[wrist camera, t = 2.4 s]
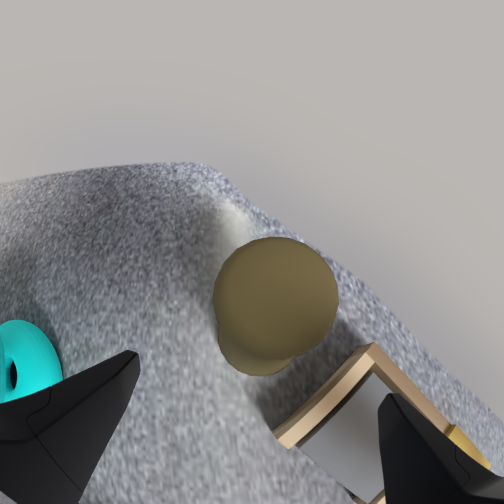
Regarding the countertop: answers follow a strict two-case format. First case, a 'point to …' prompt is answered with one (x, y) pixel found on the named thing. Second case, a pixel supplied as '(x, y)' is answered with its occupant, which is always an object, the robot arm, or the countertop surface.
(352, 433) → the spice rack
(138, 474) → the countertop surface
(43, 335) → the donuts
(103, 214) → the countertop surface
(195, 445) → the countertop surface
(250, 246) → the olive brown pawn
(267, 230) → the countertop surface
